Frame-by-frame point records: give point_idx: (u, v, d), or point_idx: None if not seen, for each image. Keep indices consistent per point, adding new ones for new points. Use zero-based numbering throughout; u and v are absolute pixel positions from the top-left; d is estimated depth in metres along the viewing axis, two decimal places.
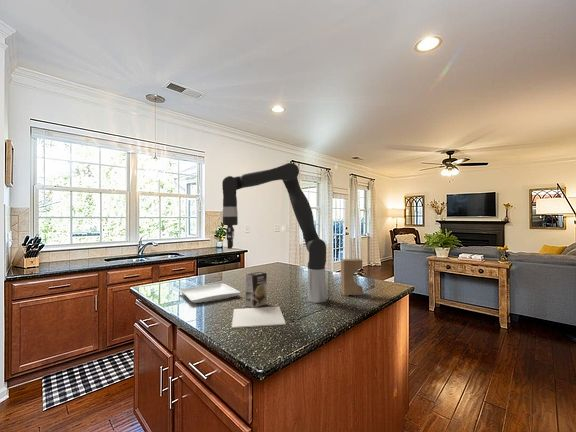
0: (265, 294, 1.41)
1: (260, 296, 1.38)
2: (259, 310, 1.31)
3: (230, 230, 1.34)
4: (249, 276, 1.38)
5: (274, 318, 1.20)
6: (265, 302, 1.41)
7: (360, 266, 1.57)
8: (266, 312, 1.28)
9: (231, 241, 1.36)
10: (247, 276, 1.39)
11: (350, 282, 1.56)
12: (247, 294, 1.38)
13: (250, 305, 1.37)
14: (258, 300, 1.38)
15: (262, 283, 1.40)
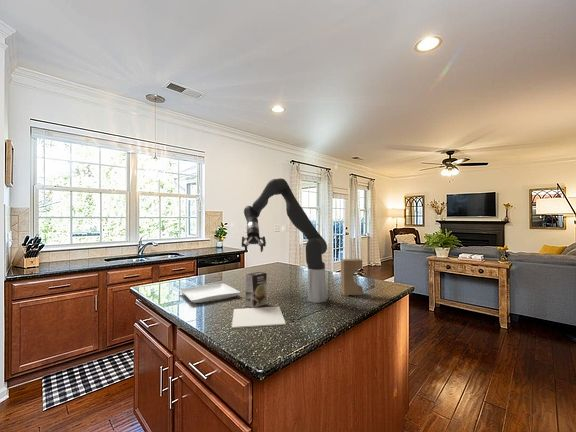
0: (265, 294, 1.41)
1: (260, 296, 1.38)
2: (259, 310, 1.31)
3: None
4: (249, 276, 1.38)
5: (274, 318, 1.20)
6: (265, 302, 1.41)
7: (360, 266, 1.57)
8: (266, 312, 1.28)
9: (245, 245, 1.61)
10: (247, 276, 1.39)
11: (350, 282, 1.56)
12: (247, 294, 1.38)
13: (250, 305, 1.37)
14: (258, 300, 1.38)
15: (262, 283, 1.40)
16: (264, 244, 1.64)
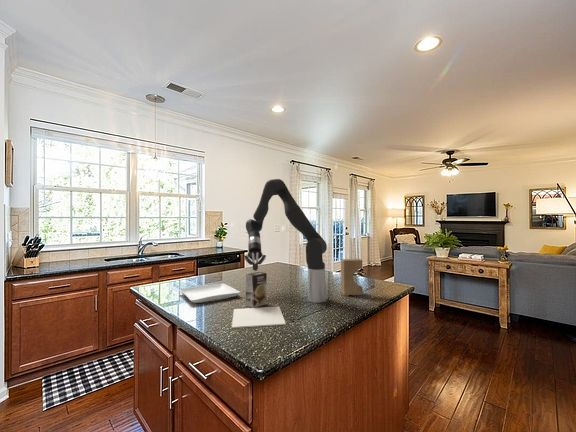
0: (265, 294, 1.41)
1: (260, 296, 1.38)
2: (259, 310, 1.31)
3: (245, 258, 1.57)
4: (249, 276, 1.38)
5: (274, 318, 1.20)
6: (265, 302, 1.41)
7: (360, 266, 1.57)
8: (266, 312, 1.28)
9: (253, 263, 1.55)
10: (247, 276, 1.39)
11: (350, 282, 1.56)
12: (247, 294, 1.38)
13: (250, 305, 1.37)
14: (258, 300, 1.38)
15: (262, 283, 1.40)
16: (258, 262, 1.56)
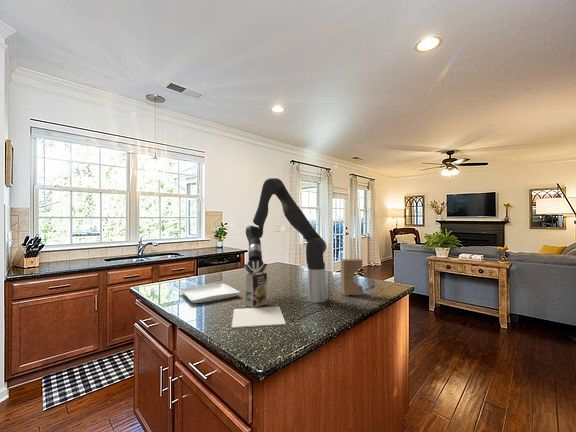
0: (265, 294, 1.41)
1: (260, 296, 1.38)
2: (259, 310, 1.31)
3: (245, 267, 1.50)
4: (249, 276, 1.37)
5: (274, 318, 1.20)
6: (265, 302, 1.41)
7: (360, 266, 1.57)
8: (266, 312, 1.28)
9: None
10: (247, 276, 1.39)
11: (350, 282, 1.56)
12: (247, 294, 1.38)
13: (250, 305, 1.37)
14: (258, 300, 1.38)
15: (262, 283, 1.40)
16: (259, 271, 1.48)
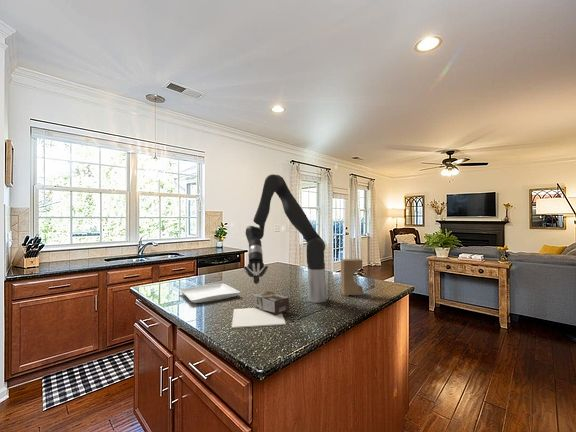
0: None
1: None
2: (259, 310, 1.31)
3: (245, 269, 1.42)
4: (273, 308, 1.24)
5: (274, 318, 1.20)
6: None
7: (360, 266, 1.57)
8: (266, 312, 1.28)
9: (254, 276, 1.39)
10: (272, 303, 1.24)
11: (350, 282, 1.56)
12: (260, 300, 1.31)
13: (254, 303, 1.34)
14: None
15: None
16: (260, 274, 1.41)
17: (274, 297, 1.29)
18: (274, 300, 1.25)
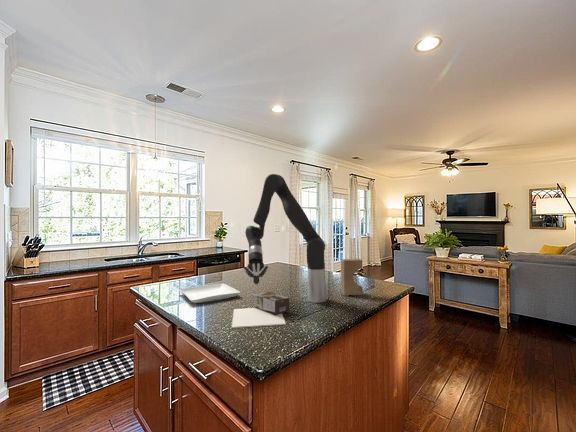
0: None
1: None
2: (259, 310, 1.31)
3: (245, 270, 1.41)
4: (273, 307, 1.24)
5: (274, 318, 1.20)
6: None
7: (360, 266, 1.57)
8: (266, 312, 1.28)
9: (254, 276, 1.38)
10: (273, 303, 1.25)
11: (350, 282, 1.56)
12: (261, 300, 1.31)
13: (254, 302, 1.34)
14: None
15: None
16: (260, 274, 1.40)
17: (274, 297, 1.29)
18: (274, 300, 1.26)
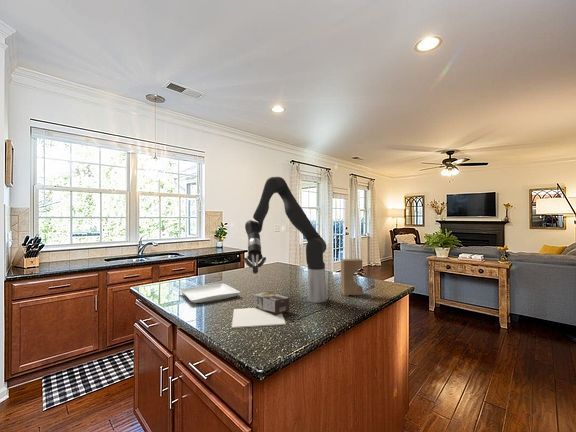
0: None
1: None
2: (259, 310, 1.31)
3: (244, 260, 1.52)
4: (273, 307, 1.24)
5: (274, 318, 1.20)
6: None
7: (360, 266, 1.57)
8: (266, 312, 1.28)
9: (253, 266, 1.50)
10: (273, 303, 1.25)
11: (350, 282, 1.56)
12: (261, 300, 1.31)
13: (254, 302, 1.34)
14: None
15: None
16: (259, 264, 1.51)
17: (274, 297, 1.29)
18: (274, 300, 1.26)
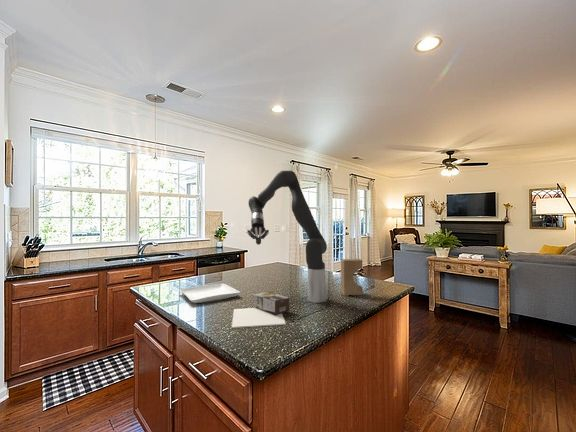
0: None
1: None
2: (259, 310, 1.31)
3: (248, 232, 1.59)
4: (273, 307, 1.24)
5: (274, 318, 1.20)
6: None
7: (360, 266, 1.57)
8: (266, 312, 1.28)
9: (257, 238, 1.57)
10: (273, 303, 1.25)
11: (350, 282, 1.56)
12: (261, 300, 1.31)
13: (254, 302, 1.34)
14: None
15: None
16: (262, 236, 1.58)
17: (274, 297, 1.29)
18: (274, 300, 1.26)
